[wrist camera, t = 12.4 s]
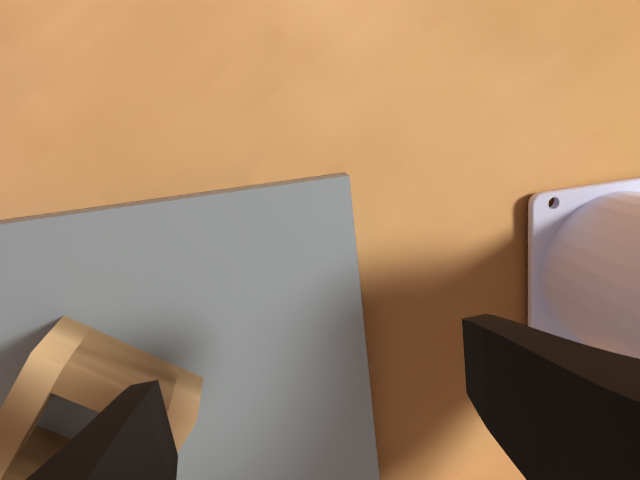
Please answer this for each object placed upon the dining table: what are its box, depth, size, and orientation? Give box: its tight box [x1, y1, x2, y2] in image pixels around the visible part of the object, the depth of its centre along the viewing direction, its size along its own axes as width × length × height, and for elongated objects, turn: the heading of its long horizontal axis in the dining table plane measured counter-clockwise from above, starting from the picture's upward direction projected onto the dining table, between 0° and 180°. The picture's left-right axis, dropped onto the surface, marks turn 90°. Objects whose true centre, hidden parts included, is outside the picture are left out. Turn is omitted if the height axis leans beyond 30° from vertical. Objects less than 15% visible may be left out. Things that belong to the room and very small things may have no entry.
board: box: [0, 173, 380, 480], centre depth 21 cm, size 22×21×1 cm
